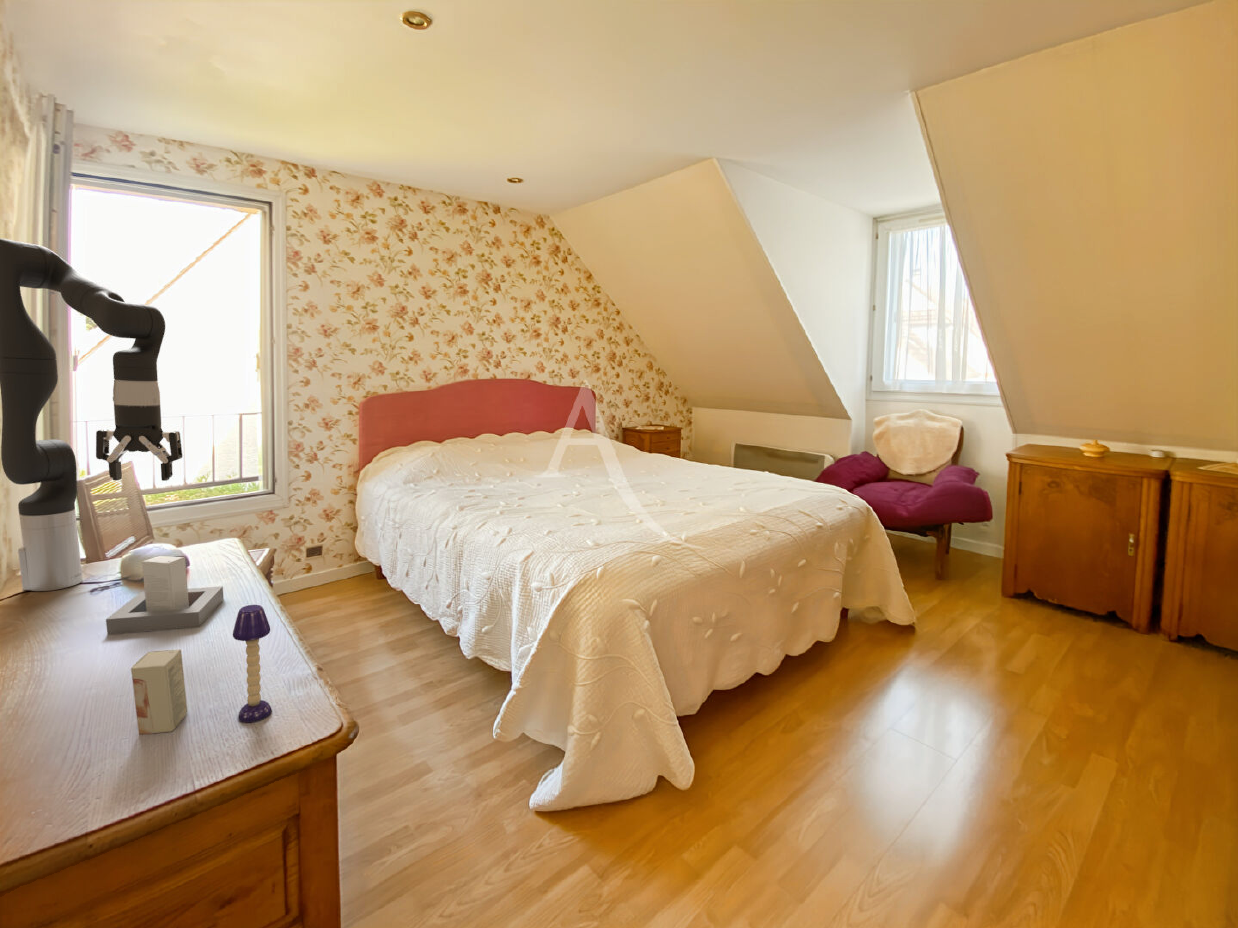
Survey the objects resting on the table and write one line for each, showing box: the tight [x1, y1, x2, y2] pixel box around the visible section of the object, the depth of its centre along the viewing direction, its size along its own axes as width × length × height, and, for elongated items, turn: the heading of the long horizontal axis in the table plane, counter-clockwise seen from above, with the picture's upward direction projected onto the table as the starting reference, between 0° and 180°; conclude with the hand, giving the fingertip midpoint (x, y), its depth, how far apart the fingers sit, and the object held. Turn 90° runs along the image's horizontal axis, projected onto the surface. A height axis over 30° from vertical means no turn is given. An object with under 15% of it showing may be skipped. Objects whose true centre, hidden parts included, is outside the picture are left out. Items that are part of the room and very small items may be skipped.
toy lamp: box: [232, 604, 273, 723], centre depth 88 cm, size 5×5×17 cm
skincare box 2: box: [130, 649, 188, 735], centre depth 86 cm, size 5×4×10 cm
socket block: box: [105, 585, 225, 635], centre depth 124 cm, size 15×15×3 cm
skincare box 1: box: [141, 555, 190, 612], centre depth 123 cm, size 6×4×12 cm
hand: (141, 479), depth 127 cm, fingers open, 8 cm apart
